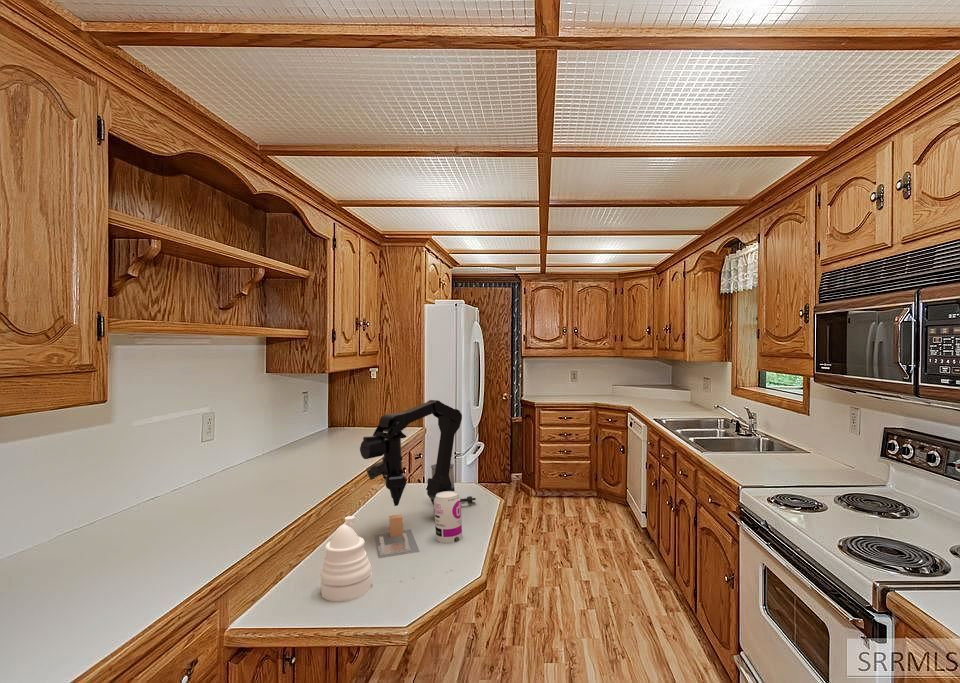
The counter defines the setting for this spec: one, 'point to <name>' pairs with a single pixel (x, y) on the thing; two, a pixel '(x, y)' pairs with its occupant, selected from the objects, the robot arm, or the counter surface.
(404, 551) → the end holder
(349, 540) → the honey pot
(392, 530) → the orange rectangular block
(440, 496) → the supplement can
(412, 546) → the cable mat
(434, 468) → the milk frother
